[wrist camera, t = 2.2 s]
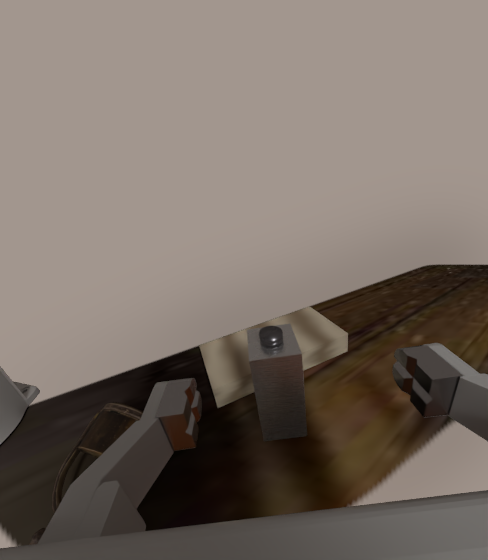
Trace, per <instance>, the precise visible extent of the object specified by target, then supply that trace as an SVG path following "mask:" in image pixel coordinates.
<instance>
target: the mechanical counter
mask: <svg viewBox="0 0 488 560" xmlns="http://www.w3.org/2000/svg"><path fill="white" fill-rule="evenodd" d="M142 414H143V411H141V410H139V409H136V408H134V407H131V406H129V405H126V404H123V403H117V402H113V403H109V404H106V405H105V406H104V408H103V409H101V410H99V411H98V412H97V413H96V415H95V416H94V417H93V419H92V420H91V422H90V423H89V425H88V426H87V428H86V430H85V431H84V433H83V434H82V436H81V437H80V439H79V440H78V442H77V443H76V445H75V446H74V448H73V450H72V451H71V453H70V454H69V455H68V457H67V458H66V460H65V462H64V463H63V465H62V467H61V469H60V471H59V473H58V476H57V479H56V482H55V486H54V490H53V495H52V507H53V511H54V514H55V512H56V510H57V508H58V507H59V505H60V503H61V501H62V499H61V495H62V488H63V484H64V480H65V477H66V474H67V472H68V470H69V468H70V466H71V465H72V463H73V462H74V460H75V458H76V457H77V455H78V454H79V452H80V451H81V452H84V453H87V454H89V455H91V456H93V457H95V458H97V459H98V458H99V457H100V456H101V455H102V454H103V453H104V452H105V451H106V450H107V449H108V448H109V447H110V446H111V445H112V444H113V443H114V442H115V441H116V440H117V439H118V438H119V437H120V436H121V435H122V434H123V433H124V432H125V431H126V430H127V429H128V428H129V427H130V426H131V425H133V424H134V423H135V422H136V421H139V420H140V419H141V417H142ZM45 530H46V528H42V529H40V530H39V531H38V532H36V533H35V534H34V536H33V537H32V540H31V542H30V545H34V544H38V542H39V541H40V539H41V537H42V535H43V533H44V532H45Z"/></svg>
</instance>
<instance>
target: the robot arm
mask: <svg viewBox="0 0 488 560" xmlns="http://www.w3.org/2000/svg"><path fill="white" fill-rule="evenodd" d="M394 357H395V358H396V359H397V362H396V363H395V364H394V365H393V376H394V379H395V381H396V383H397V385H398V386H399V387H400V389H401V390H402V391H404V392H406V393H407V394H409V395H410V401H411V402H412V404H413V405H414V406H415V407H416V408H417V410H418V411H419V412H420V413H421V415H422V416H423V417H433V416H443V415H449V417H451V418H452V419H454V420H455V421H457V422H459V423H460V424H462V425H463V426H465V427H466V428H468V429H470V430H471V431H473V432H474V433H476V434H477V435H479V436H480V437H482V438H484V439H485V440H487V441H488V375H487V374H479V373H478V372H477V371H475V370H474V369H473V368H472V367H470V366H469V365H468V364H466V363H465V362H464V361H462V360H461V359H460V358H459V357H457V356H456V355H455V354H453V353H452V352H451V351H449V350H448V349H447V348H445V347H444V346H443V345H441V344H439V343H433V344H426V345H420V346H413V347H407V348H400V349H397V350H396V351H395V355H394ZM196 386H197V384H196V381H195V379H194V378H189V379H180V380H172V381H165V382H157V383H156V384H155V386H154V388H153V390H152V393H151V395H150V397H149V400H148V402H147V405H146V407H145V409H144V412H143V414H142V417H141V419H140V420H139V421H136V422H135V423H134V424H133V425H131V426H130V427H129V428H128V429H127V430H126V431H125V432H124V433H123V434H122V435H121V436H120V437H119V438H118V439H117V440H116V441H115V442H114V443H113V444H112V445H111V446H110V447H109V448H108V449H107V450H106V451H105V452H104V453H103V454H102V455H101V456H100V457H99V458H98V459H97V460H96V461H95V462H94V463H93V464H91V465H90V466H89V467H88V468H87V469H86V470H85V471H84V472H83V473H82V474H81V475H80V476H79V477H78V478H77V479H76V480H75V481H74V482H73V483H72V484H71V485H70V487H69V489H68V490H67V492H66V494H65V496H64V498H63V499H62V501H61V503H60V505H59V507H58V508H57V510H56V512H55V514H54V516H53V517H52V519H51V521H50V523H49V524H48V526H47V528H46V530H45V532H44V533H43V535H42V537H41V539H40V541H39V542H38V544H34V545H26V546H18V547H9V548H1V549H0V560H488V490H487V491H478V492H469V493H461V494H452V495H444V496H435V497H427V498H419V499H411V500H402V501H394V502H386V503H377V504H369V505H360V506H352V507H343V508H335V509H326V510H318V511H310V512H301V513H293V514H285V515H276V516H268V517H260V518H251V519H243V520H234V521H226V522H218V523H209V524H201V525H193V526H184V527H176V528H168V529H159V530H151V531H145V529H146V524H145V522H144V520H143V519H142V517H141V516H140V514H139V513H138V511H137V510H136V509H137V507H138V506H139V504H140V503H141V501H142V500H143V498H144V497H145V495H146V494H147V492H148V491H149V489H150V488H151V486H152V484H153V483H154V481H155V480H156V478H157V477H158V475H159V474H160V472H161V471H162V469H163V468H164V466H165V465H166V463H167V462H168V460H169V459H170V457H171V456H172V454H173V451H176V450H183V449H189V448H195V447H196V443H197V437H198V431H199V428H198V425H197V422H198V421H199V419H200V418H201V411H202V402H201V396H200V393H199V392H198V391H196ZM39 392H40V390H39V389H38V388H37V387H35V386H31V385H27V384H22V383H17V382H13V381H12V380H11V379H10V378H9V377H8V375H7V374H6V373H5V372H4V370H3V369H2V368H1V367H0V444H1V443H2V442H3V441H4V440H5V439H6V438H7V437H8V436H9V435H10V434H11V433H12V431H13V430H14V429H15V428H16V426H17V425H18V424H19V422H20V420H21V419H22V417H23V415H24V413H25V411H26V409H27V407H28V406H29V404H30V403H31V402H32V401H33V400H34V399H35V398H36V397H37V395H38V394H39Z"/></svg>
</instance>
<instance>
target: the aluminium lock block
mask: <svg viewBox="0 0 488 560" xmlns="http://www.w3.org/2000/svg"><path fill="white" fill-rule="evenodd" d="M247 338H248V353H249V364H250V369H251V375H252V380H253V385H254V391H255V396H256V402H257V407H258V413H259V418H260V424H261V429H262V435H263V440H264V441H271V440H279V439H287V438H294V437H302V436H307V426H306V410H305V394H304V378H303V363H302V353H301V350H300V347H299V345H298V342H297V340H296V337H295V334H294V332H293V329H292V327H291V324H283V325H276V326H266V327H262V328H255V329H248V330H247Z"/></svg>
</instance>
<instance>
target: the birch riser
mask: <svg viewBox="0 0 488 560" xmlns="http://www.w3.org/2000/svg"><path fill="white" fill-rule="evenodd" d="M283 324H291V327H292V329H293V332H294V334H295V337H296V340H297V342H298V345H299V347H300V350H301V353H302V363H303V370H306V369H308V368H310V367H312V366H315V365H317V364H319V363H322V362H324V361H326V360H328V359H331V358H333V357H335V356H338V355H340V354H342V353H344V352H347V348H348V333H347V332H345V331H344V330H342V329H341V328H339V327H338V326H337V325H335V324H334V323H332V322H331V321H329V320H328V319H327V318H325V317H324V316H322V315H321V314H319V313H318V312H317V311H315V310H314V309H312V308H311V307H306V308H304V309H301V310H298V311H295V312H292V313H290V314H287V315H284V316H281V317H278V318H275V319H273V320H270V321H267V322H264V323H261V324H258V325H256V326H253V327H250V328H247V329H244V330H241V331H239V332H236V333H233V334H230V335H227V336H224V337H222V338H219V339H216V340H213V341H210V342H207V343H205V344H202V345H199V346H200V350H201V353H202V357H203V360H204V364H205V367H206V370H207V374H208V377H209V380H210V384H211V387H212V390H213V394H214V397H215V400H216V404H217V407H218V408H219V407H221V406H224V405H226V404H228V403H231V402H233V401H235V400H237V399H240V398H242V397H244V396H247V395H249V394H251V393H253V392H255V391H254V385H253V380H252V375H251V369H250V364H249V353H248V338H247V330H248V329H255V328H262V327H266V326H276V325H283Z"/></svg>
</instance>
